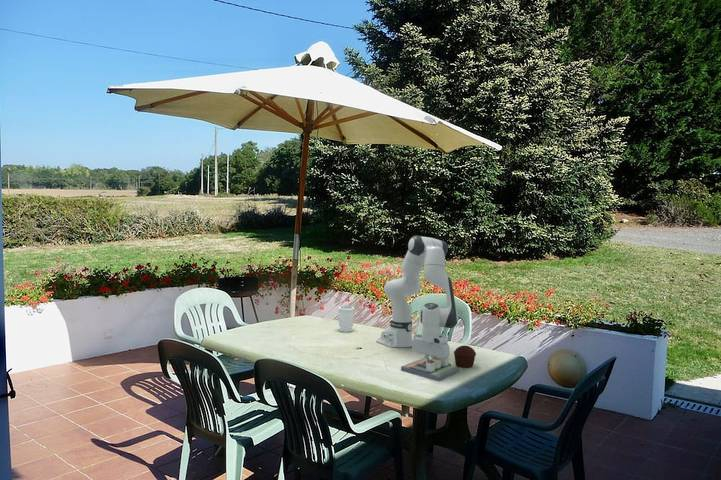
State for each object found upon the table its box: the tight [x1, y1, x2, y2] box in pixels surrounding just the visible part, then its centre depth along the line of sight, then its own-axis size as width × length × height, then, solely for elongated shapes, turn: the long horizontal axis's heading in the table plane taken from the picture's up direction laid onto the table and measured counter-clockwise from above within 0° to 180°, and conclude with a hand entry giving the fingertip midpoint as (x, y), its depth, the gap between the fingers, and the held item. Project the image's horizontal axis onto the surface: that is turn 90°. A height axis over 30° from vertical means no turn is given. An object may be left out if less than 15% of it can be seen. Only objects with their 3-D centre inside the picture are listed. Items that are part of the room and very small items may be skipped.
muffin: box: [453, 345, 477, 369], centre depth 269 cm, size 12×11×10 cm
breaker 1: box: [426, 359, 435, 372], centre depth 253 cm, size 3×3×5 cm
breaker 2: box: [440, 356, 450, 366], centre depth 261 cm, size 3×3×5 cm
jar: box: [337, 305, 355, 333], centre depth 336 cm, size 11×10×15 cm
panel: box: [400, 357, 461, 382], centre depth 260 cm, size 22×19×3 cm
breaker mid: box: [431, 357, 441, 369], centre depth 257 cm, size 3×3×5 cm
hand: (429, 364), depth 260 cm, fingers closed
